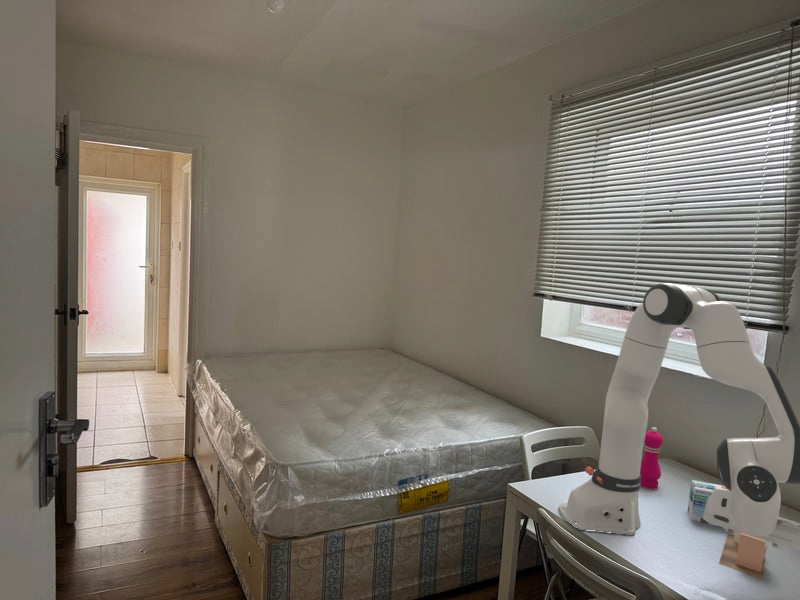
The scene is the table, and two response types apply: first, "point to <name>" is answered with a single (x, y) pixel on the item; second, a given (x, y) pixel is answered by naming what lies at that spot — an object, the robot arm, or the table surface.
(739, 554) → the peach rectangular block
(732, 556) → the board
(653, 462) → the pepper mill
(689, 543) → the table surface
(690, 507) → the light bulb box
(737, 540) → the post
